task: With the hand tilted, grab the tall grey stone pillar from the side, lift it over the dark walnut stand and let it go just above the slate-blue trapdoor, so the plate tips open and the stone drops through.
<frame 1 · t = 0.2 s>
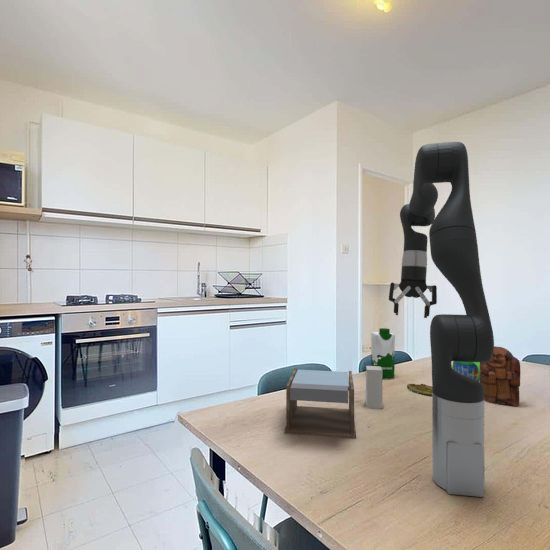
hand: (411, 316, 115), 28 cm above the table, tool pointing down, fingers open, 8 cm apart
trapdoor stand: (321, 421, 102), on the table
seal: (426, 393, 129), on the table
wooden figurine: (499, 402, 119), on the table
trapdoor: (320, 382, 99), point 12 cm above the table, hinge at 0.0°
green blue printed box: (467, 384, 139), on the table
grey stone pillar: (374, 405, 115), on the table
milk carton: (382, 377, 149), on the table
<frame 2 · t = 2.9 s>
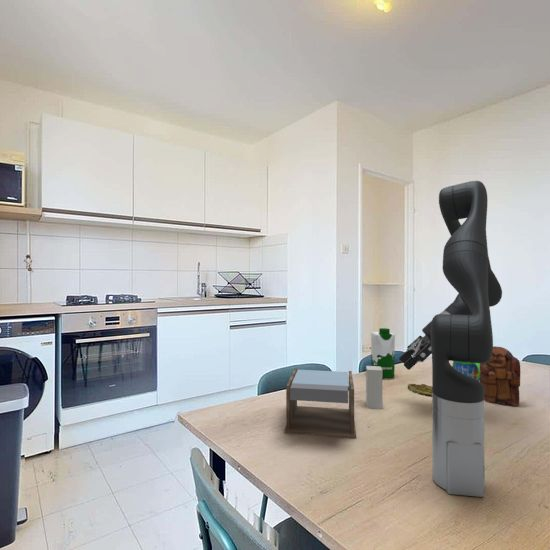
hand: (403, 364, 114), 14 cm above the table, tool tilted 45°, fingers open, 8 cm apart
nothing on the table moved.
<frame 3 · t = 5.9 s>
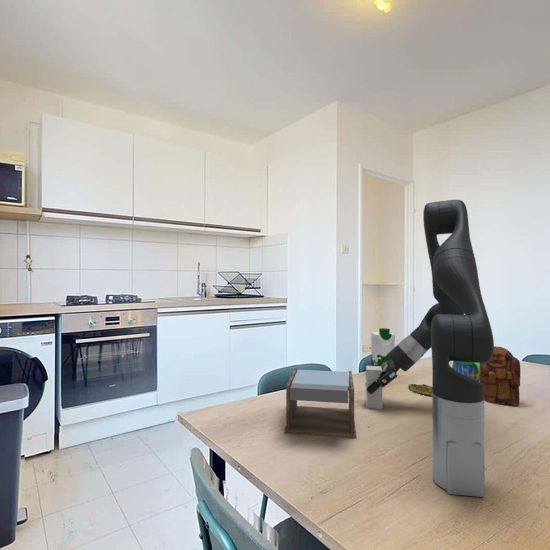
hand: (368, 389, 115), 5 cm above the table, tool tilted 45°, fingers closed on grey stone pillar, 5 cm apart
grey stone pillar: (374, 405, 115), on the table, touching gripper
everything else where it was.
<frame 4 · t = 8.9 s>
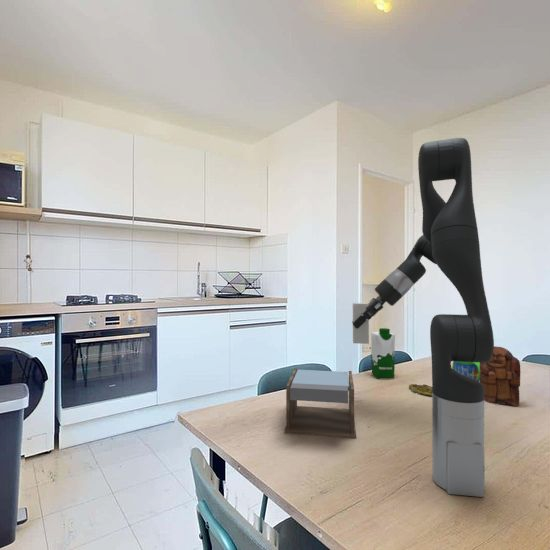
hand: (354, 325, 112), 26 cm above the table, tool tilted 45°, fingers closed on grey stone pillar, 5 cm apart
grey stone pillar: (360, 342, 112), point 21 cm above the table, touching gripper
everything else where it was.
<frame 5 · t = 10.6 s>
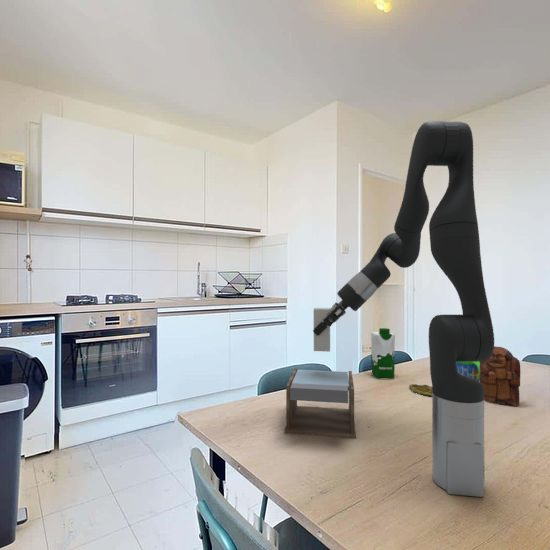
hand: (315, 331, 106), 25 cm above the table, tool tilted 45°, fingers closed on grey stone pillar, 5 cm apart
grey stone pillar: (322, 349, 105), point 20 cm above the table, touching gripper
everything else where it was.
when the fingers open (21 cm above the table, at t = 11.9 s): grey stone pillar drops 5 cm, resting on trapdoor.
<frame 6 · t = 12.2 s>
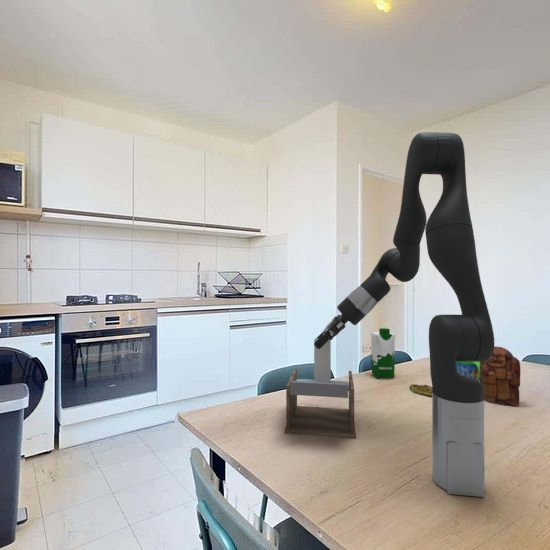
hand: (316, 344, 106), 21 cm above the table, tool tilted 45°, fingers open, 7 cm apart
trapdoor: (320, 385, 98), point 11 cm above the table, hinge at -10.8°, touching grey stone pillar
grey stone pillar: (322, 380, 105), point 11 cm above the table, tilted 6°, touching trapdoor
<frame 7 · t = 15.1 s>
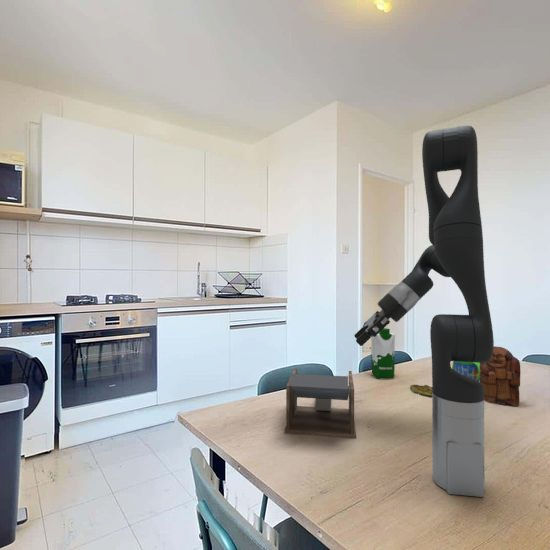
hand: (357, 340, 104), 23 cm above the table, tool tilted 45°, fingers open, 8 cm apart
trapdoor: (320, 389, 98), point 10 cm above the table, hinge at -27.5°, touching grey stone pillar
grey stone pillar: (323, 401, 108), point 4 cm above the table, tilted 96°, touching trapdoor, trapdoor stand
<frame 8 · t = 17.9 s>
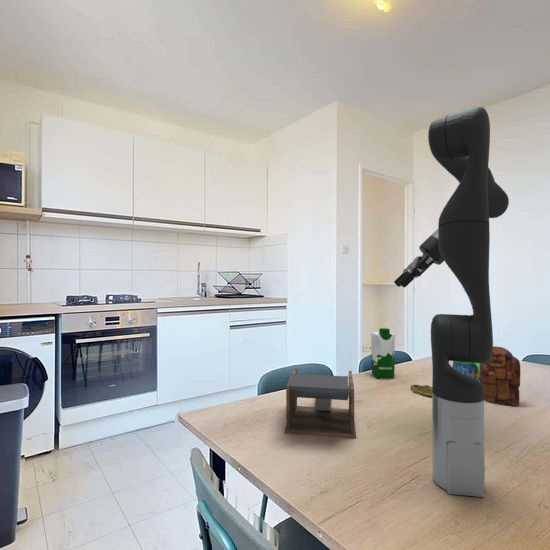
hand: (398, 285, 102), 39 cm above the table, tool tilted 45°, fingers open, 8 cm apart
at the end: grey stone pillar point 3.6 cm above the table; grey stone pillar inside the target area on the trapdoor stand (0.3 cm from its centre), point 3.6 cm above the trapdoor stand's base; the gripper is holding nothing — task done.
